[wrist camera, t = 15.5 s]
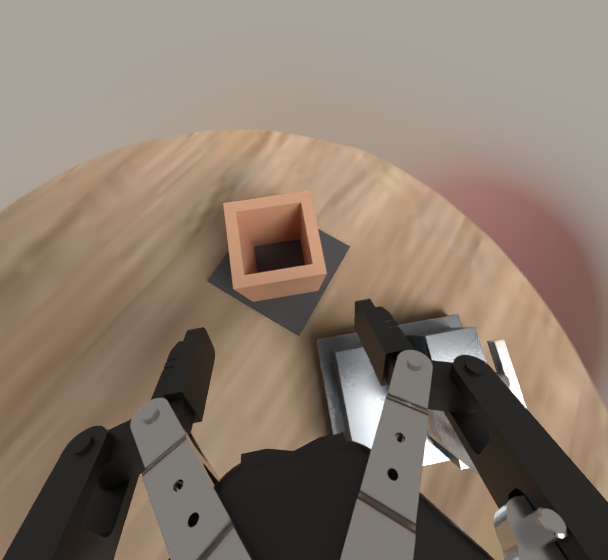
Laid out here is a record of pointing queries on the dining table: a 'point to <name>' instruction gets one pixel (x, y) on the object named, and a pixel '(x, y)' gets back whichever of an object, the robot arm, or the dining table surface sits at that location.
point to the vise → (371, 395)
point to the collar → (267, 230)
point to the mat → (280, 256)
